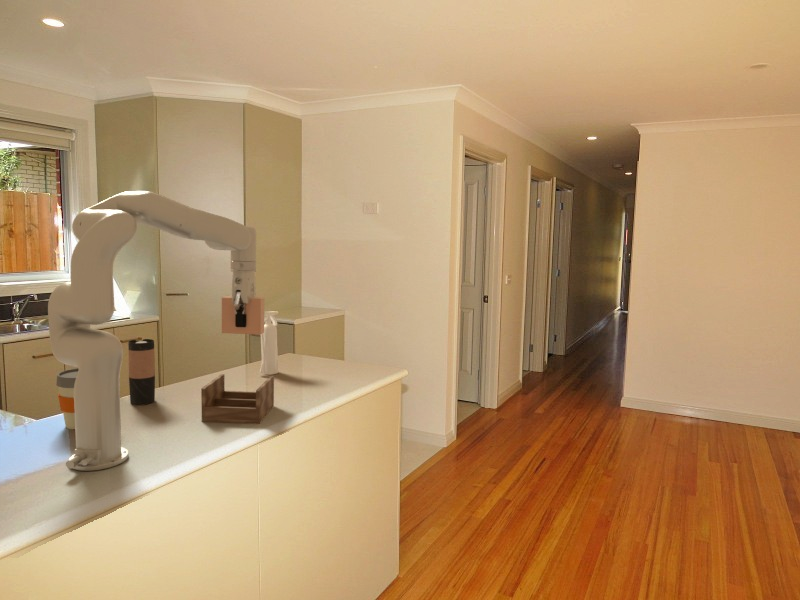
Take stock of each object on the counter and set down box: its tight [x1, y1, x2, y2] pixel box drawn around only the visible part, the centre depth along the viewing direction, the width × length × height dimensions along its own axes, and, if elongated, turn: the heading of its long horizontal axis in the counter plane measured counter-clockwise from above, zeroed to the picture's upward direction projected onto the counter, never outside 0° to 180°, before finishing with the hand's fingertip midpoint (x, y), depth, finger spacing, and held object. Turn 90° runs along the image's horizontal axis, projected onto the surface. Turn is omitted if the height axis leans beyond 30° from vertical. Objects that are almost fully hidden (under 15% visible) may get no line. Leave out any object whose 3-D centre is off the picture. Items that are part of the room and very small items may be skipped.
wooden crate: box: [200, 373, 275, 425], centre depth 168 cm, size 17×17×10 cm
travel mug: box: [127, 338, 156, 406], centre depth 176 cm, size 8×8×20 cm
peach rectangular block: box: [221, 295, 265, 336], centre depth 169 cm, size 4×12×11 cm, turn 89°
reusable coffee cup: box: [55, 367, 79, 430], centre depth 154 cm, size 13×13×15 cm
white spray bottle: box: [259, 310, 279, 376], centre depth 217 cm, size 7×12×25 cm, turn 157°
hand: (243, 325), depth 169 cm, fingers closed on peach rectangular block, 4 cm apart
